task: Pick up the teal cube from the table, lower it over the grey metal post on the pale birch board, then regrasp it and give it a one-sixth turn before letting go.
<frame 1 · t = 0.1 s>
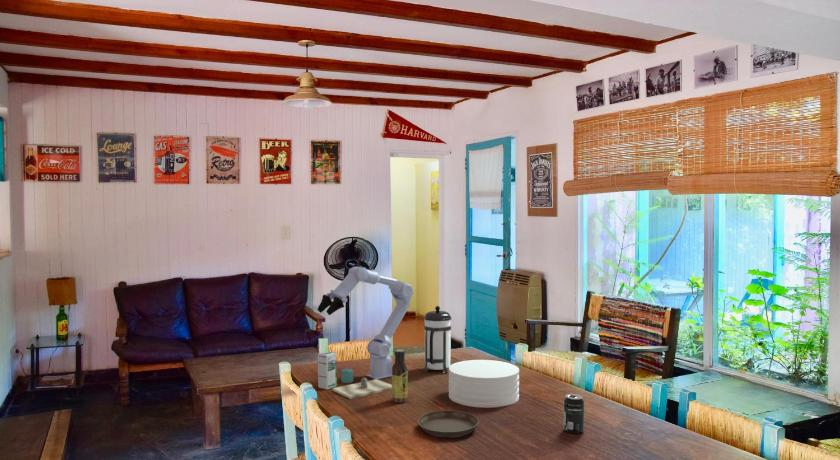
hand: (323, 312, 260), 32 cm above the table, tool tilted 50°, fingers open, 7 cm apart
plate stack: (483, 397, 250), on the table
syrup box: (327, 387, 263), on the table
teal cube: (347, 381, 271), on the table
sauce bottle: (399, 401, 244), on the table
plant saucer: (448, 430, 213), on the table
coffee press: (437, 371, 288), on the table
beverage can: (573, 431, 211), on the table
post board: (364, 389, 259), on the table
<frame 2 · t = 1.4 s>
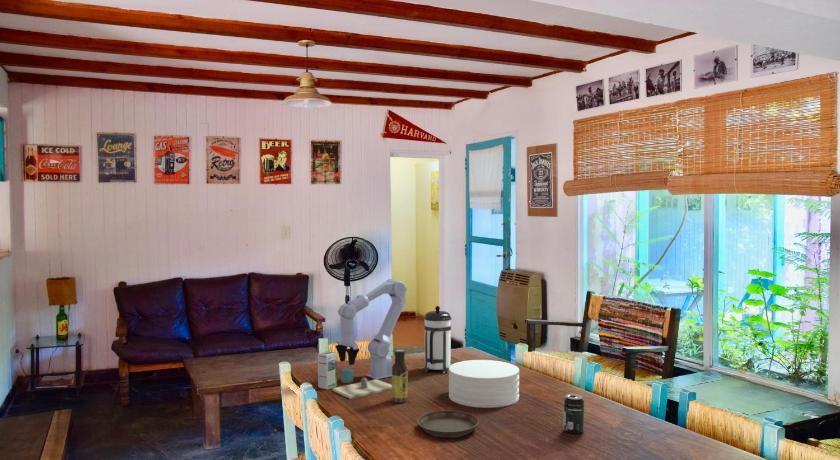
hand: (347, 362, 271), 8 cm above the table, tool pointing down, fingers open, 7 cm apart
nothing on the table moved.
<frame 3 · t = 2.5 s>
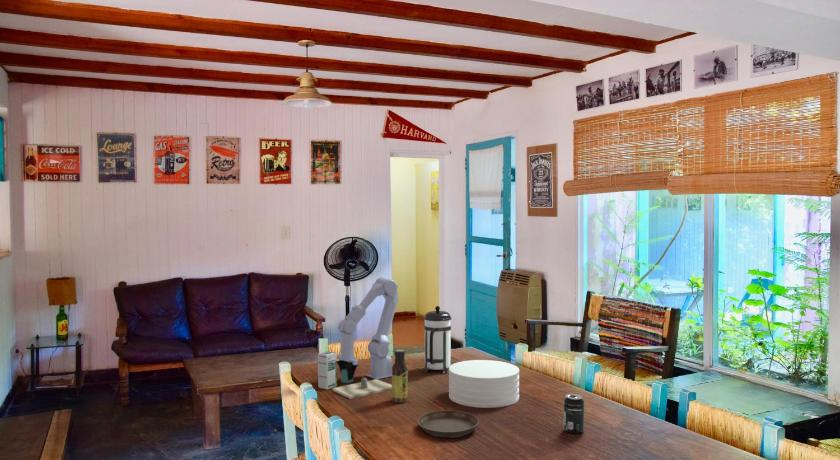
hand: (347, 378, 271), 1 cm above the table, tool pointing down, fingers closed on teal cube, 5 cm apart
teal cube: (347, 381, 271), on the table, touching gripper
everything else where it was.
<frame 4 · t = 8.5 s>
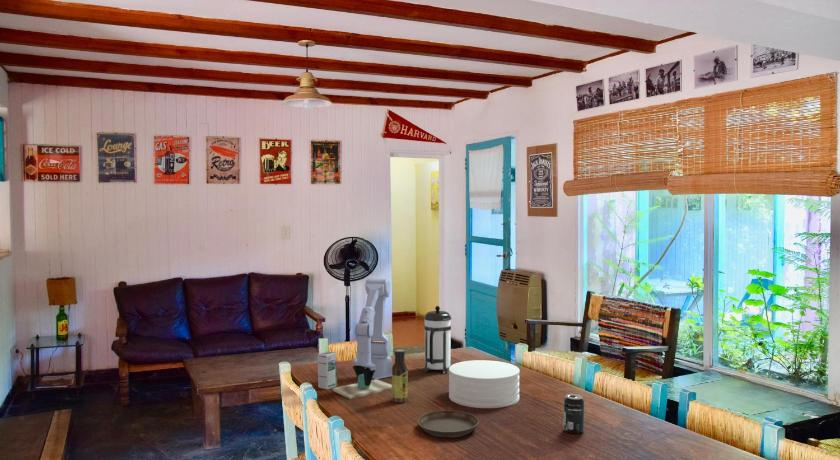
hand: (364, 384, 259), 2 cm above the table, tool pointing down, fingers closed on teal cube, 5 cm apart
teal cube: (363, 387, 258), point 1 cm above the table, touching gripper, post board
everything else where it was.
when the fingers open (3 cm above the table, at t = 9.8 s): teal cube stays where it is, resting on post board.
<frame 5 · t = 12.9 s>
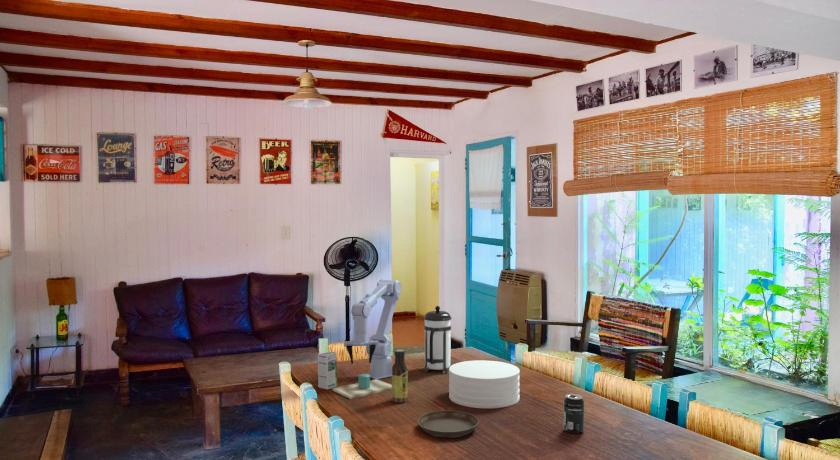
hand: (361, 362, 266), 9 cm above the table, tool pointing down, fingers open, 7 cm apart
teal cube: (364, 387, 258), point 1 cm above the table, touching post board
everything else where it was.
at the end: teal cube 0.1 cm from the post board (horizontally); teal cube point 1.0 cm above the table; the gripper is holding nothing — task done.
